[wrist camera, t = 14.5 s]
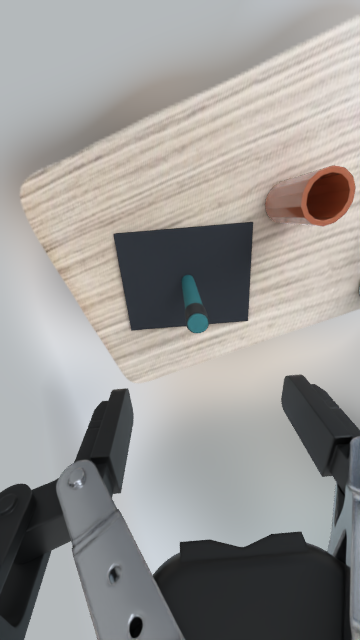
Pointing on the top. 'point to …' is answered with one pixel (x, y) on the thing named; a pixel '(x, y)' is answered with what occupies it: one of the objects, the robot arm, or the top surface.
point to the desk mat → (185, 273)
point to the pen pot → (312, 197)
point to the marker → (193, 306)
